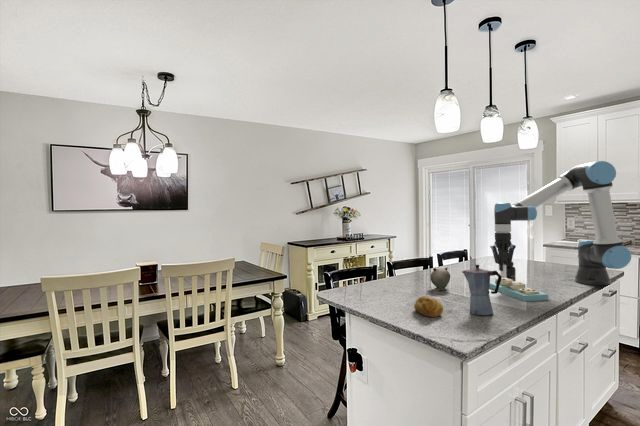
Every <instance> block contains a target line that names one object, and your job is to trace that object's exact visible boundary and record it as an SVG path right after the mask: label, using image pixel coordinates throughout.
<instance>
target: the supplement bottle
mask: <svg viewBox="0 0 640 426" xmlns="http://www.w3.org/2000/svg"><path fill="white" fill-rule="evenodd" d="M516 275H517V274H516V267H515V266H514V262H513V261H512V262H511V263H509V265H508V270H507V271H506V278H508V279H511V280H513V282H514V281H517V280H516V279H517V278H516ZM502 278H503V277H502Z"/></svg>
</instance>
